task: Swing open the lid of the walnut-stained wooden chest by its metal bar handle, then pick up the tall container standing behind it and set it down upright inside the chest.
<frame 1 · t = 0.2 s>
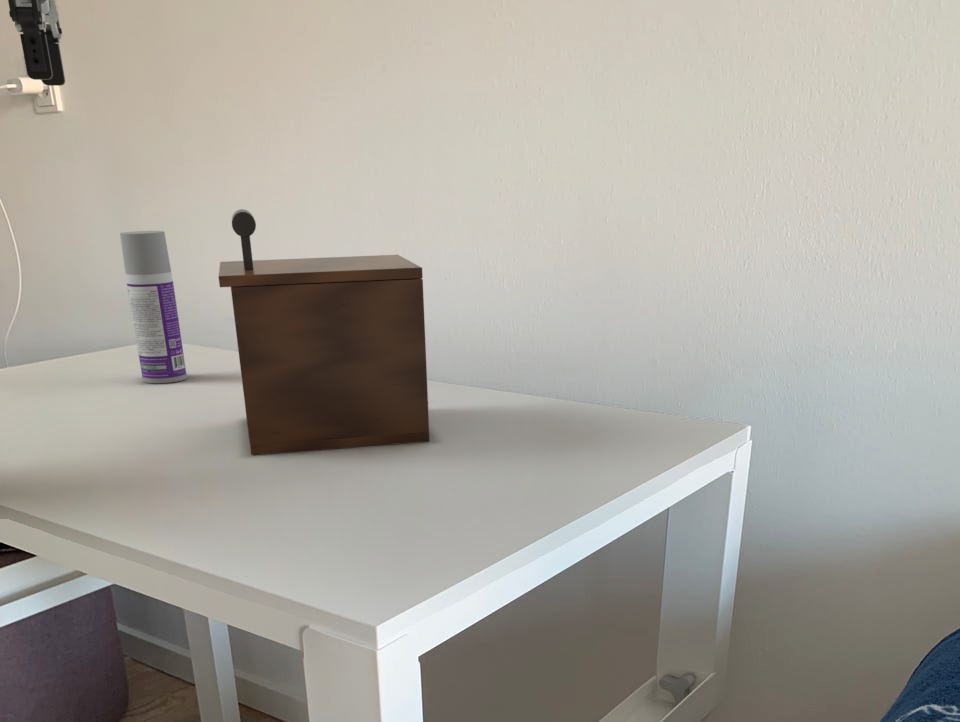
hand: (47, 82, 100), 29 cm above the table, tool pointing down, fingers open, 8 cm apart
lid: (314, 242, 81), point 15 cm above the table, hinge at 0.0°
chest: (334, 430, 88), on the table
container: (165, 381, 110), on the table
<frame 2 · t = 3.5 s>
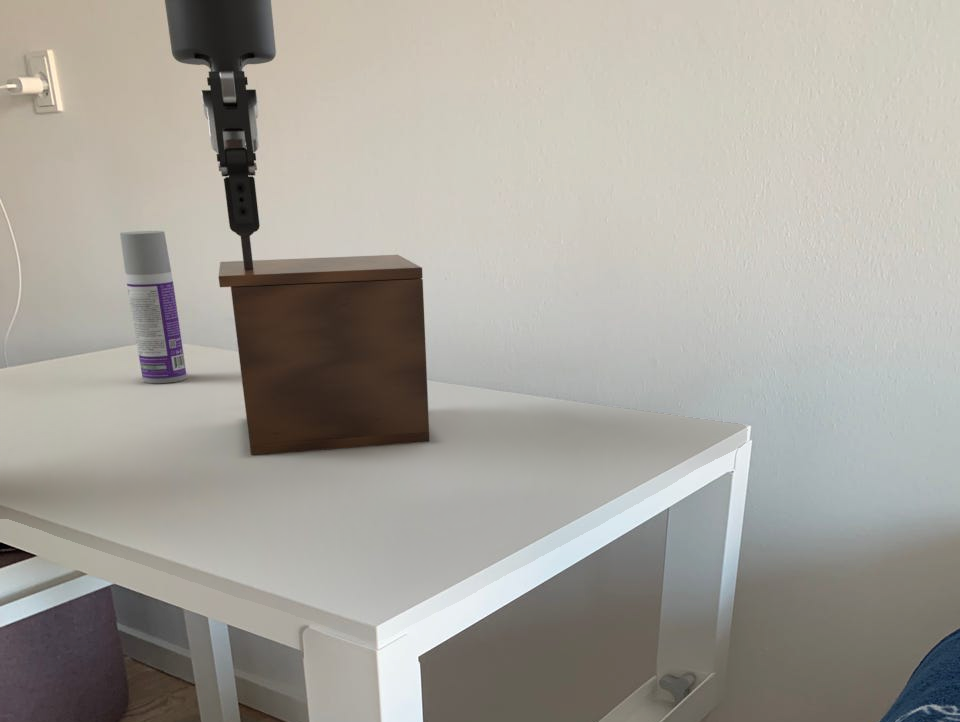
hand: (245, 228, 79), 17 cm above the table, tool pointing down, fingers open, 8 cm apart
nothing on the table moved.
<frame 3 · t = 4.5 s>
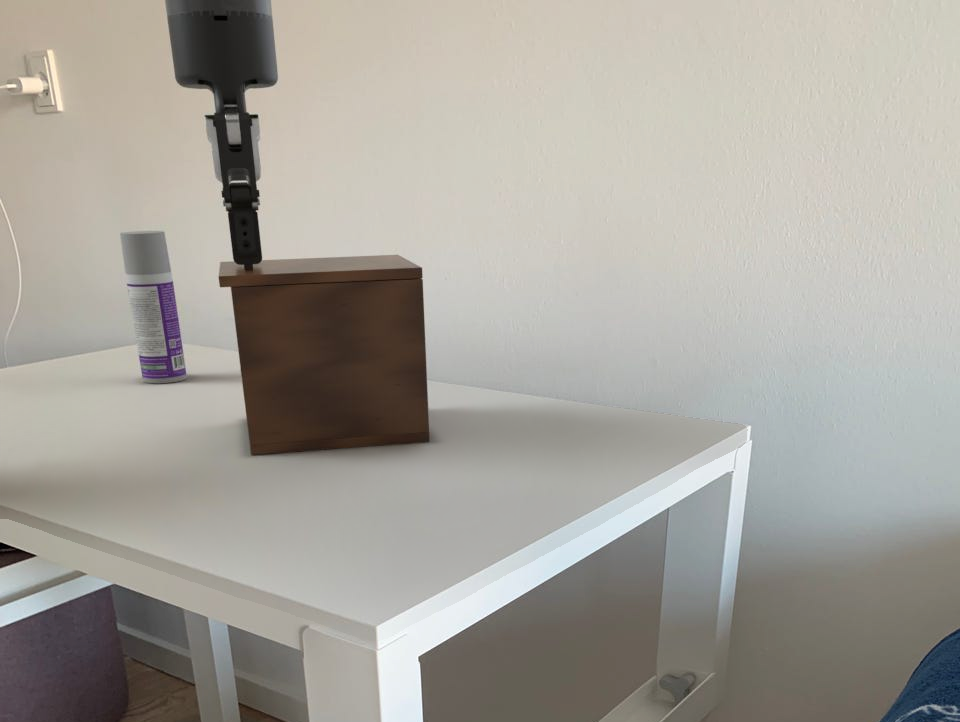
hand: (247, 259, 80), 14 cm above the table, tool pointing down, fingers closed on lid, 5 cm apart
lid: (314, 242, 81), point 15 cm above the table, hinge at 0.0°, touching gripper
everything else where it was.
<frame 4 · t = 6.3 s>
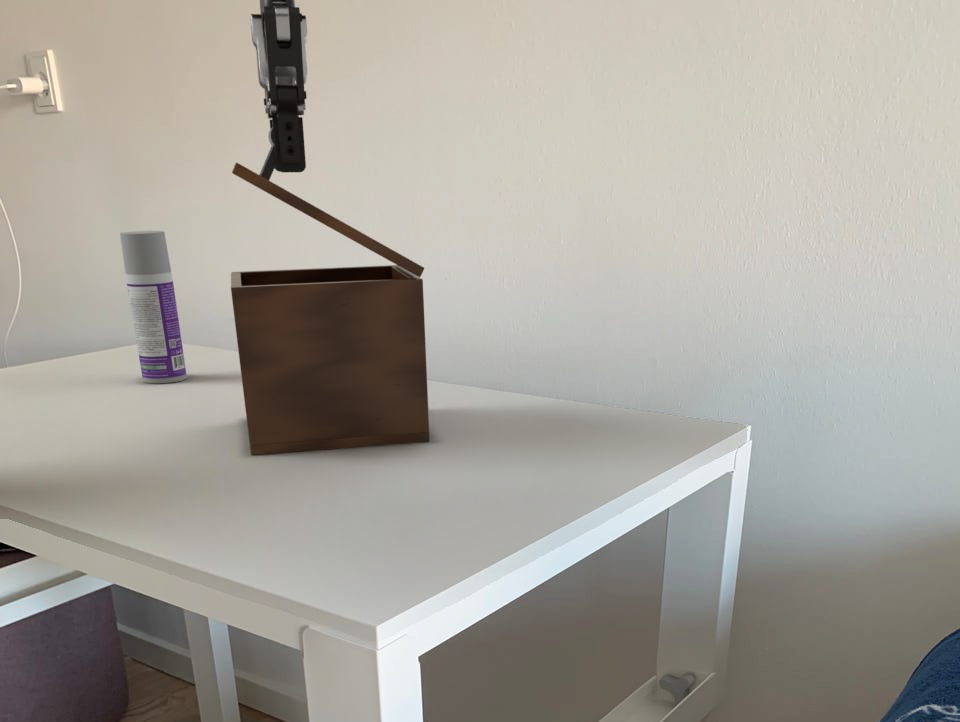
hand: (289, 170, 78), 21 cm above the table, tool pointing down, fingers closed on lid, 5 cm apart
lid: (336, 193, 80), point 19 cm above the table, hinge at 29.9°, touching gripper
everything else where it was.
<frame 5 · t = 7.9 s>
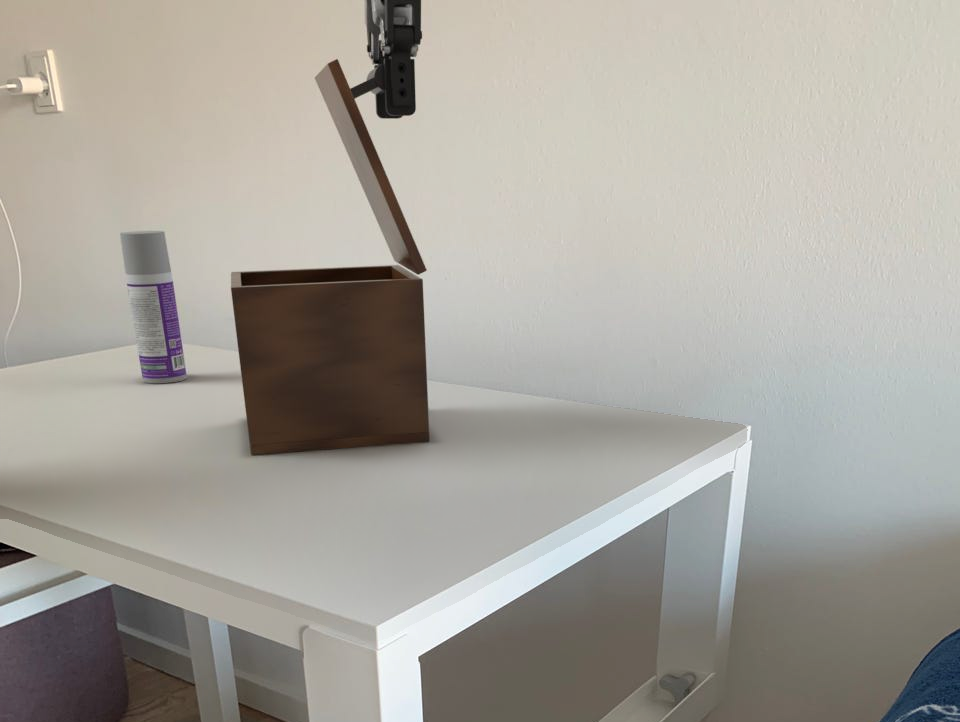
hand: (395, 115, 78), 24 cm above the table, tool pointing down, fingers closed on lid, 5 cm apart
lid: (393, 160, 80), point 21 cm above the table, hinge at 68.0°, touching gripper
everything else where it was.
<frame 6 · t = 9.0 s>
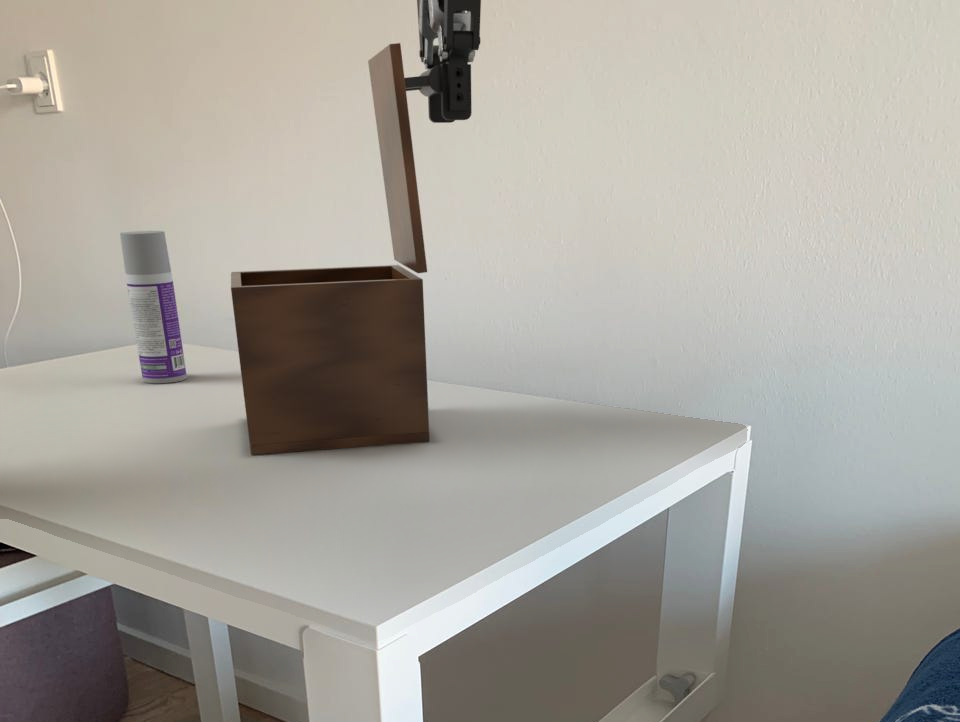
hand: (449, 120, 79), 24 cm above the table, tool pointing down, fingers closed on lid, 5 cm apart
lid: (422, 160, 80), point 21 cm above the table, hinge at 85.2°, touching gripper
everything else where it was.
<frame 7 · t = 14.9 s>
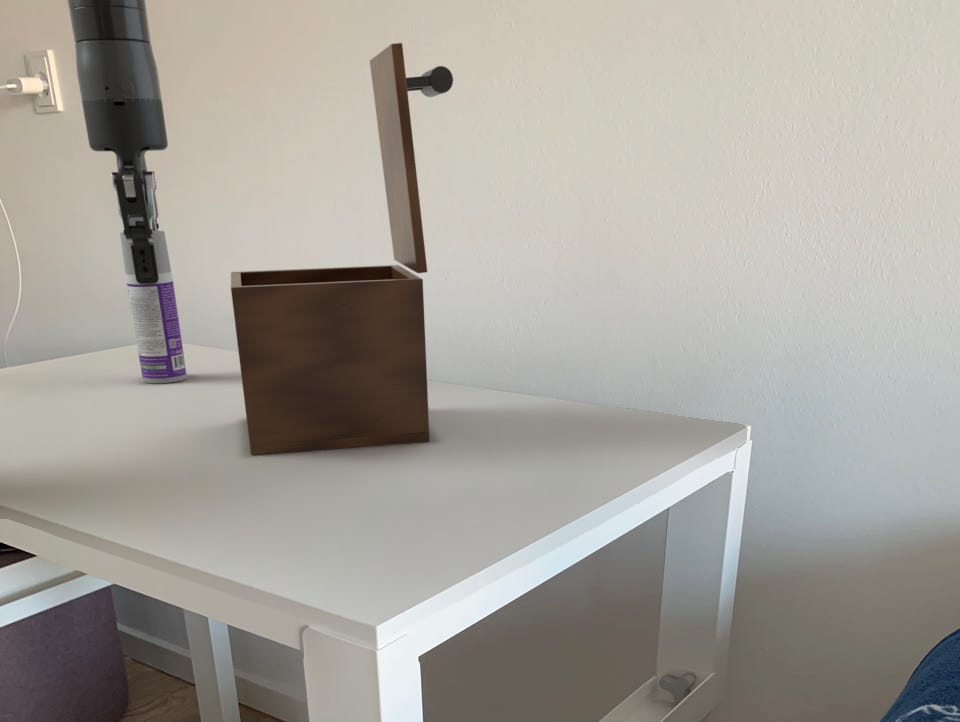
hand: (149, 279, 106), 10 cm above the table, tool pointing down, fingers closed on container, 4 cm apart
lid: (423, 160, 80), point 21 cm above the table, hinge at 85.7°
container: (165, 381, 110), on the table, touching gripper
everything else where it was.
when the fingers open (11 cm above the table, at t = 24.1 s): container stays where it is, resting on chest.
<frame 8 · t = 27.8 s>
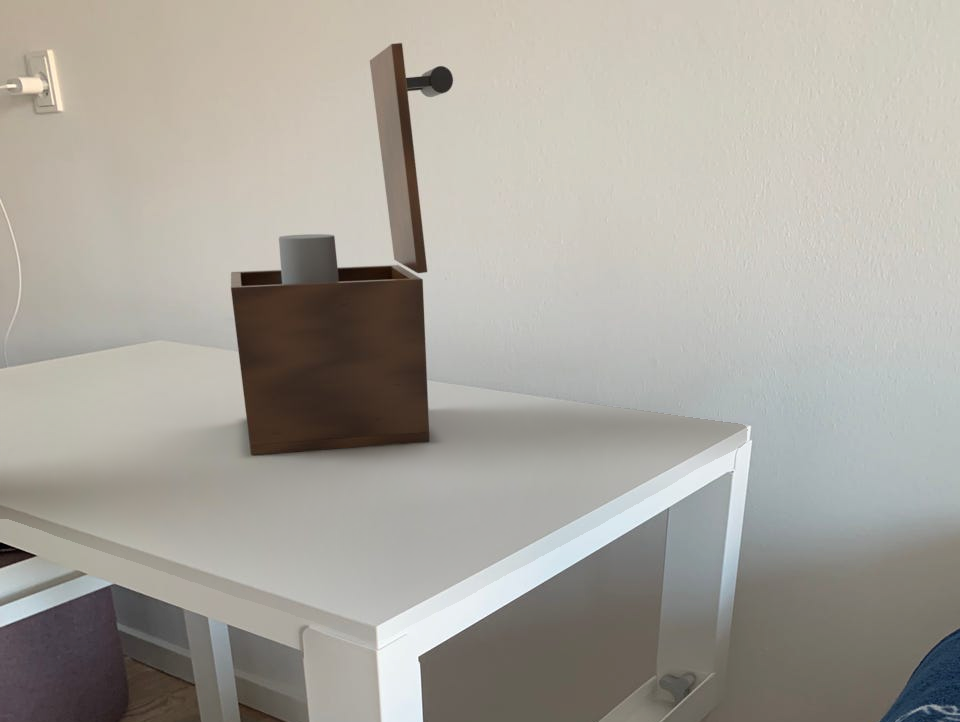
container: (323, 424, 87), point 1 cm above the table, touching chest
everything else where it was.
at the end: lid at +86° (first picture: +0°); container inside the target area in the chest (1.0 cm from its centre), point 0.6 cm above the chest's base; container tilted 0° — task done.
